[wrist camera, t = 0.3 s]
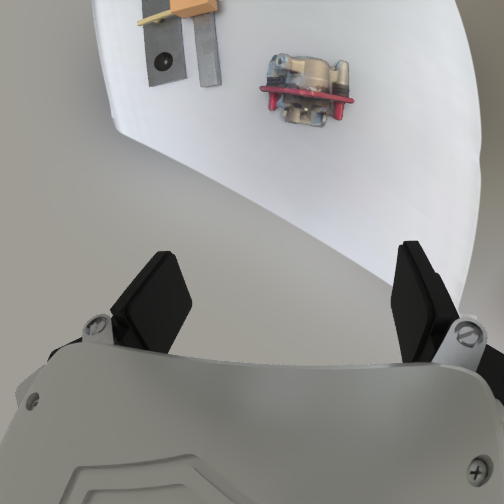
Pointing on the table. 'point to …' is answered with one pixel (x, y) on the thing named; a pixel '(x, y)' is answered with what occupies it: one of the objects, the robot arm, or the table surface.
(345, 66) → the brake caliper
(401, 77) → the table surface
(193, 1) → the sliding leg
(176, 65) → the strip
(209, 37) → the rail
